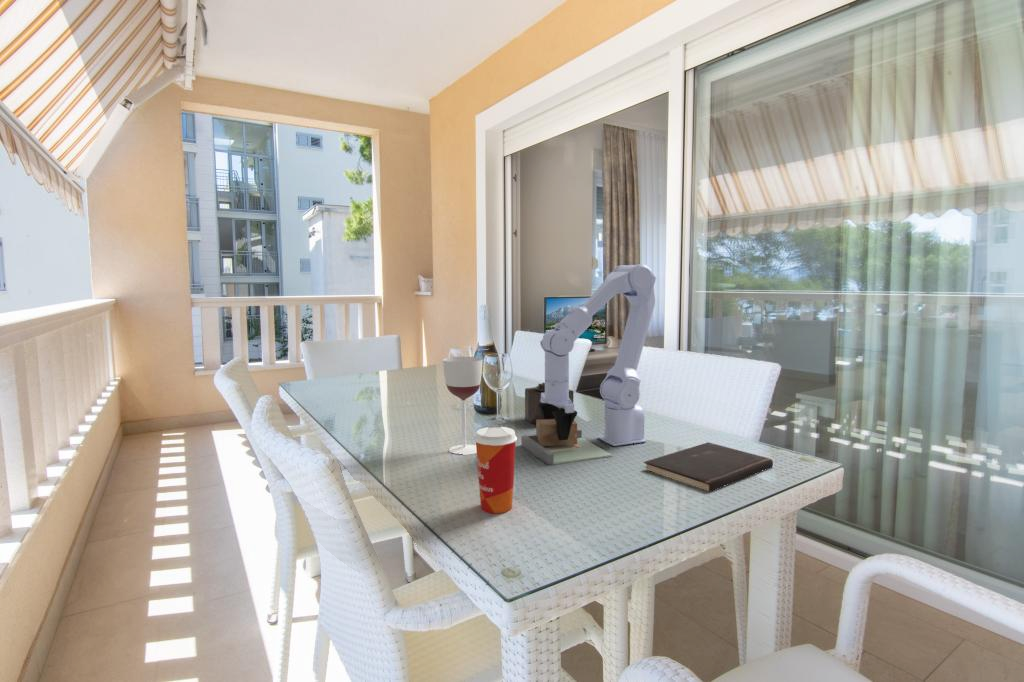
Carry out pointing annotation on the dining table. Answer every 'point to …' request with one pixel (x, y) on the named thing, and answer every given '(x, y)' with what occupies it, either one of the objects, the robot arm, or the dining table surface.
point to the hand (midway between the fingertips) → (556, 435)
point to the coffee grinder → (536, 402)
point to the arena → (564, 450)
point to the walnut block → (553, 433)
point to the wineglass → (463, 389)
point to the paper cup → (496, 468)
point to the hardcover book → (708, 465)
